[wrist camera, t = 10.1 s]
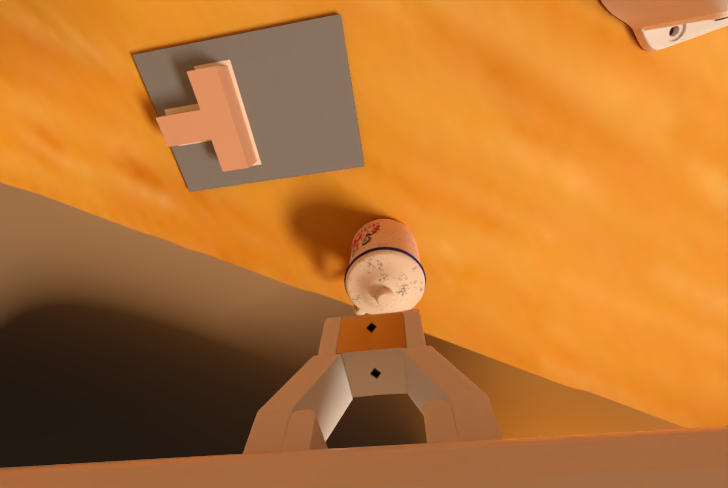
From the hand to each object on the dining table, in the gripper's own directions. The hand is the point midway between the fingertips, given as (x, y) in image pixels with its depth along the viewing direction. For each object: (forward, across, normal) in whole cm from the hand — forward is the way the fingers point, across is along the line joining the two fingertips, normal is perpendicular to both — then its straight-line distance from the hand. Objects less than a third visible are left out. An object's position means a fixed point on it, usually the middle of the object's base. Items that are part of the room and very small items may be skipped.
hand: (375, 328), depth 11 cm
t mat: (+31, +13, -5) cm, 34 cm away
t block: (+30, +18, -5) cm, 36 cm away
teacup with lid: (+31, +2, +15) cm, 35 cm away
